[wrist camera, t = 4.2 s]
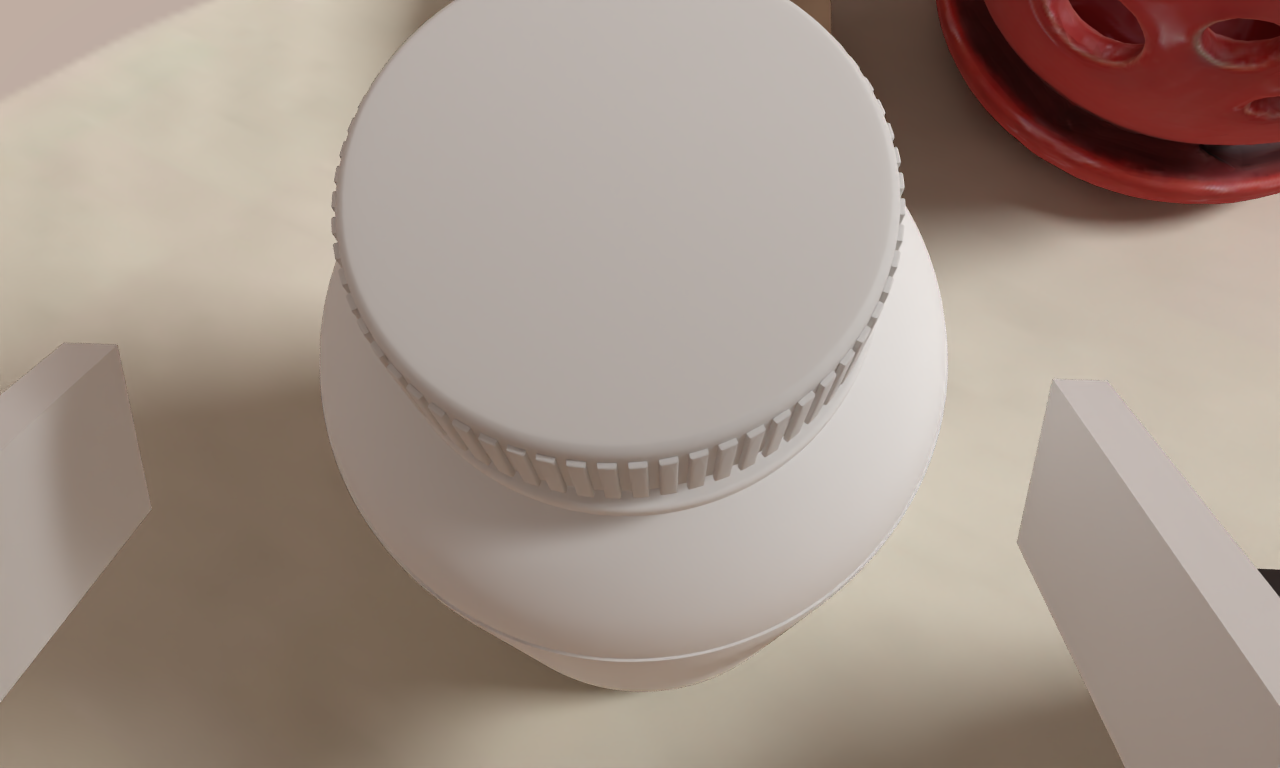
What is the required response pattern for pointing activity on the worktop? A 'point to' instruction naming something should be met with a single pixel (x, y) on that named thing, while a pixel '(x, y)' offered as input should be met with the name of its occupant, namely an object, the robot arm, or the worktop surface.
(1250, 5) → the plant pot
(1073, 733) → the worktop surface
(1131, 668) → the robot arm
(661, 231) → the pill bottle
